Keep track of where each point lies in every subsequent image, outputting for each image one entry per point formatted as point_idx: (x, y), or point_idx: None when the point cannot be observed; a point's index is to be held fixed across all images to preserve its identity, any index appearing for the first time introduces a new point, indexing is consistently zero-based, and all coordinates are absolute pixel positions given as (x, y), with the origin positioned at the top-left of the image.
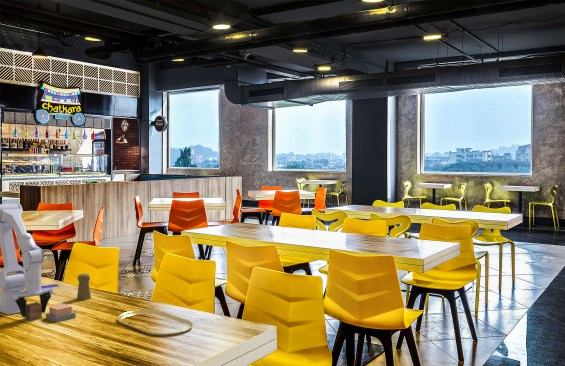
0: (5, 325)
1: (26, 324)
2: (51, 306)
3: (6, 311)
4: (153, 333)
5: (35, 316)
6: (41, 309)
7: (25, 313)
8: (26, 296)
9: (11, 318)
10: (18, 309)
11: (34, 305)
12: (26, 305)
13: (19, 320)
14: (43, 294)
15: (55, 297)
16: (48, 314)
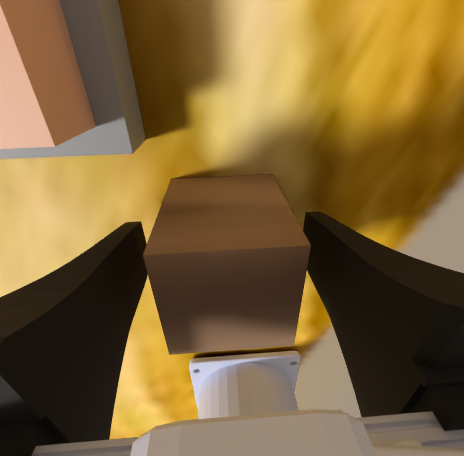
0: (457, 178)
1: (364, 69)
2: (17, 146)
3: (290, 380)
4: None
5: (229, 185)
6: (160, 216)
7: (322, 221)
8: (387, 437)
9: None
10: (240, 374)
11: (246, 254)
12: (297, 315)
13: None
14: (38, 438)
15: None
16: (116, 83)
